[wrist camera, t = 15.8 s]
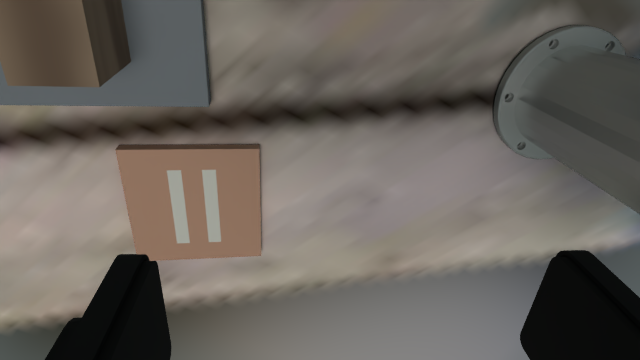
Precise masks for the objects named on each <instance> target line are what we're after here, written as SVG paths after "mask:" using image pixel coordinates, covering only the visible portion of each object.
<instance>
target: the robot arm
mask: <svg viewBox="0 0 640 360" xmlns="http://www.w3.org/2000/svg"><path fill="white" fill-rule="evenodd" d="M493 111H494V123H495V126H496V130H497V133H498V134H499V136H500V138H501V140H502V141H503V142H504V143H505V144H506V145H507V146H508V147H509V148H510V149H512V150H513V151H514V152H516V153H518V154H520V155H522V156H524V157H527V158H532V159H550V158H556V159H557V160H559V161H560V162H562V163H563V164H565V165H566V166H568V167H569V168H571V169H572V170H574V171H575V172H577V173H578V174H580V175H581V176H583V177H584V178H586V179H587V180H589V181H590V182H592V183H593V184H595V185H596V186H598V187H599V188H601V189H602V190H604V191H605V192H607V193H608V194H610V195H612V196H613V197H615V198H616V199H618V200H619V201H621V202H622V203H624V204H625V205H627V206H628V207H630V208H631V209H633V210H634V211H636V212H637V213H639V214H640V59H637V58H633V57H629V56H626V53H625V50H624V48H623V46H622V45H621V43H620V42H619V40H618V39H617V38H615V37H614V36H613V35H612V34H611V33H609V32H607V31H605V30H603V29H600V28H596V27H591V26H584V25H573V26H567V27H562V28H559V29H556V30H554V31H551V32H549V33H547V34H545V35H543V36H542V37H540V38H538V39H536V40H535V41H534V42H533V43H531V44H530V45H529V46H528V47H526V48H525V49H524V50H523V51H522V52H521V53H520V54H519V55H518V56H517V57H516V59H515V60H514V61H513V62H512V64H511V65H510V67H509V68H508V69H507V71H506V72H505V74H504V76H503V78H502V80H501V82H500V84H499V87H498V90H497V93H496V97H495V102H494V110H493ZM520 340H521V344H522V347H523V349H524V351H525V352H526V354H527V355H528V357H529V359H530V360H640V298H639V297H638V296H637V295H636V294H635V293H634V292H633V291H632V290H631V289H630V288H628V287H627V286H626V285H625V284H624V283H623V282H622V281H621V280H620V279H619V278H618V277H617V276H616V275H614V274H613V273H612V272H611V271H610V270H609V269H608V268H607V267H606V266H605V265H604V264H602V262H600V261H599V260H598V259H597V258H596V257H595V256H594V255H593V254H592V253H590V252H589V251H585V250H571V251H560V252H559V253H558V254H557V255H556V257H554V258H552V259H551V261H550V263H549V266H548V268H547V270H546V273H545V275H544V278H543V280H542V282H541V285H540V287H539V290H538V292H537V295H536V297H535V300H534V302H533V304H532V307H531V309H530V312H529V314H528V316H527V319H526V321H525V323H524V326H523V329H522V331H521V334H520ZM170 356H171V340H170V334H169V328H168V323H167V317H166V311H165V305H164V299H163V293H162V287H161V281H160V275H159V269H158V264H157V262H156V261H149V257H148V256H147V255H146V254H120V255H118V256H117V257H116V258H115V260H114V262H113V263H112V265H111V267H110V269H109V270H108V272H107V274H106V276H105V278H104V279H103V281H102V283H101V285H100V286H99V288H98V290H97V292H96V293H95V295H94V297H93V299H92V301H91V302H90V304H89V306H88V308H87V309H86V311H85V313H84V315H83V317H82V318H73V319H72V320H70V321H69V322H68V323H67V324H66V326H65V327H64V328H63V330H62V332H61V333H60V335H59V337H58V338H57V340H56V342H55V344H54V345H53V347H52V349H51V350H50V352H49V354H48V355H47V357H46V359H45V360H170Z"/></svg>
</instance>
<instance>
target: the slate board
mask: <svg viewBox="0 0 640 360" xmlns="http://www.w3.org/2000/svg"><path fill="white" fill-rule="evenodd" d="M121 3H122V9H123V15H124V21H125V27H126V33H127V39H128V46H129V52H130V58H131V62H130V63H129V64H128V65H127V66H125V67H124V68H123V69H122V70H120V71H119V72H118V73H117V74H116V75H114V76H113V77H112V78H111V79H109V80H108V81H107V82H106V83H104V84H103V85H102V86H101V87H51V86H8V85H7V81H6V78H5V75H4V72H3V69H2V66H1V62H0V105H65V106H177V107H209V105H210V102H211V98H210V85H209V72H208V58H207V45H206V32H205V19H204V6H203V0H121Z"/></svg>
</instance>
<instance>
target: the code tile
mask: <svg viewBox="0 0 640 360" xmlns="http://www.w3.org/2000/svg"><path fill="white" fill-rule="evenodd" d="M116 155H117V160H118V165H119V170H120V175H121V179H122V184H123V189H124V194H125V199H126V204H127V209H128V214H129V219H130V224H131V228H132V233H133V238H134V243H135V248H136V253H137V254H146V255H147V256H148V257H149V261H157V260H179V259H201V258H223V257H245V256H261V211H260V156H259V144H251V145H119V146H118V147H117V148H116Z"/></svg>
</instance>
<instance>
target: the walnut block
mask: <svg viewBox="0 0 640 360" xmlns="http://www.w3.org/2000/svg"><path fill="white" fill-rule="evenodd" d="M0 62H1V66H2V69H3V72H4V75H5V78H6V81H7V85H8V86H51V87H101V86H102V85H103V84H104V83H106V82H107V81H108V80H109V79H111V78H112V77H113V76H114V75H116V74H117V73H118V72H119V71H120V70H122V69H123V68H124V67H125V66H127V65H128V64H129V63H130V62H131V58H130V52H129V46H128V39H127V33H126V27H125V21H124V15H123V9H122V3H121V0H0Z"/></svg>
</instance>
